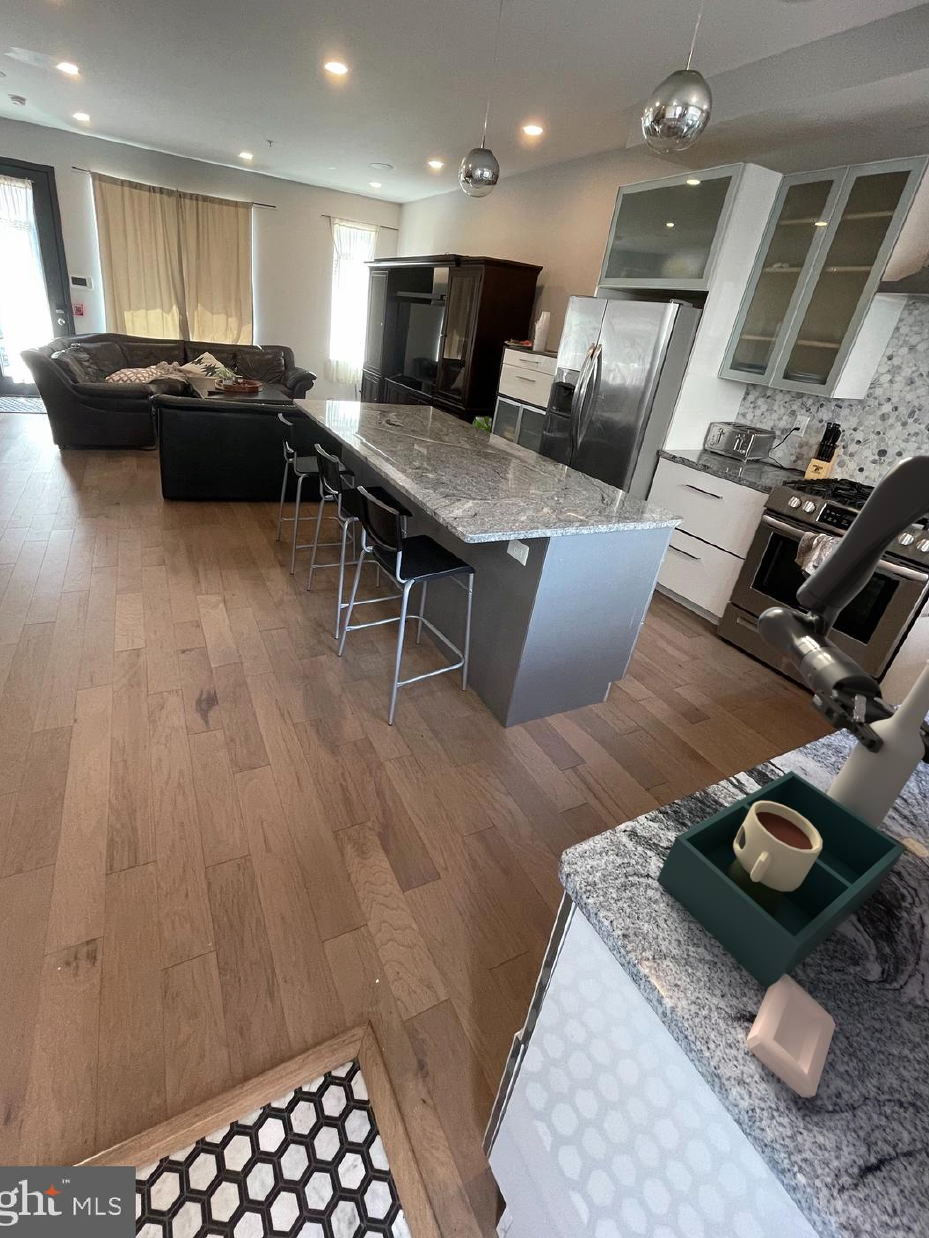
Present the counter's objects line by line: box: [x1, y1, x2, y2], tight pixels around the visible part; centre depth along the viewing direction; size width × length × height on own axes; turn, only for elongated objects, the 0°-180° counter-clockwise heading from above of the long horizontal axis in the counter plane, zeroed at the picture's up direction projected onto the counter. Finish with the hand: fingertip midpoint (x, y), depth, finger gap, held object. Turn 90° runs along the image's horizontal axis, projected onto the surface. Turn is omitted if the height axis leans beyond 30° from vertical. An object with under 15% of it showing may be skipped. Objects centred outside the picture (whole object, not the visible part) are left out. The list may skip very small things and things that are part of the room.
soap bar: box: [746, 974, 836, 1099], centre depth 54 cm, size 5×9×2 cm, turn 134°
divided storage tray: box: [656, 770, 907, 991], centre depth 69 cm, size 27×14×7 cm, turn 121°
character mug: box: [724, 801, 822, 919], centre depth 64 cm, size 11×7×13 cm, turn 131°
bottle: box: [826, 658, 929, 830], centre depth 75 cm, size 7×7×28 cm
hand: (905, 753), depth 72 cm, fingers closed on bottle, 6 cm apart
